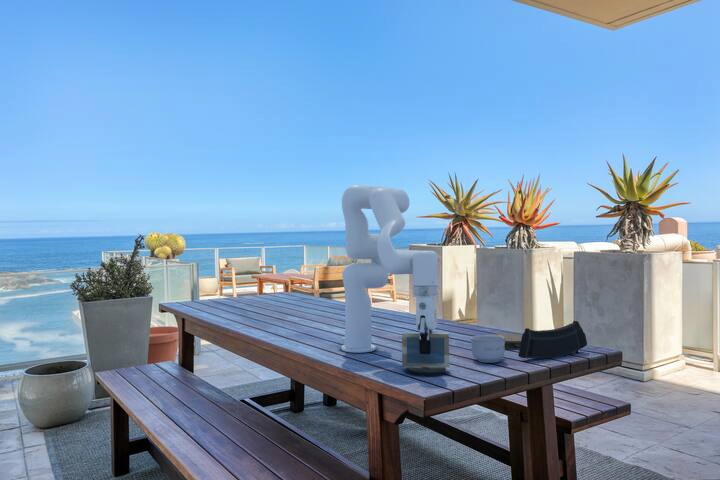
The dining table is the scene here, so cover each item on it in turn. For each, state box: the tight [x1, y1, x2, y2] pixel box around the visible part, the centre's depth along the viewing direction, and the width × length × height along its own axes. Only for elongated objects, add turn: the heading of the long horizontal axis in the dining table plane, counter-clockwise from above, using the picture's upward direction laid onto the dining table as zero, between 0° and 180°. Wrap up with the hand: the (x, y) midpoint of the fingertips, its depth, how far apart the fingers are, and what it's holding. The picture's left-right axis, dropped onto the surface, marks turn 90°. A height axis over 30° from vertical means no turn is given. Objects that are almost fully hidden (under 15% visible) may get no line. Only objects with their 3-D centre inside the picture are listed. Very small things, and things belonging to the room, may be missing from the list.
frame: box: [401, 332, 450, 368], centre depth 153 cm, size 5×14×10 cm, turn 86°
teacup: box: [470, 334, 506, 364], centre depth 165 cm, size 14×11×8 cm
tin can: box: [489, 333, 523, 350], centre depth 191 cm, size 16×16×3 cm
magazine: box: [517, 320, 588, 360], centre depth 170 cm, size 17×3×30 cm
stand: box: [405, 367, 447, 377], centre depth 151 cm, size 12×12×1 cm
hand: (426, 352), depth 151 cm, fingers open, 3 cm apart
